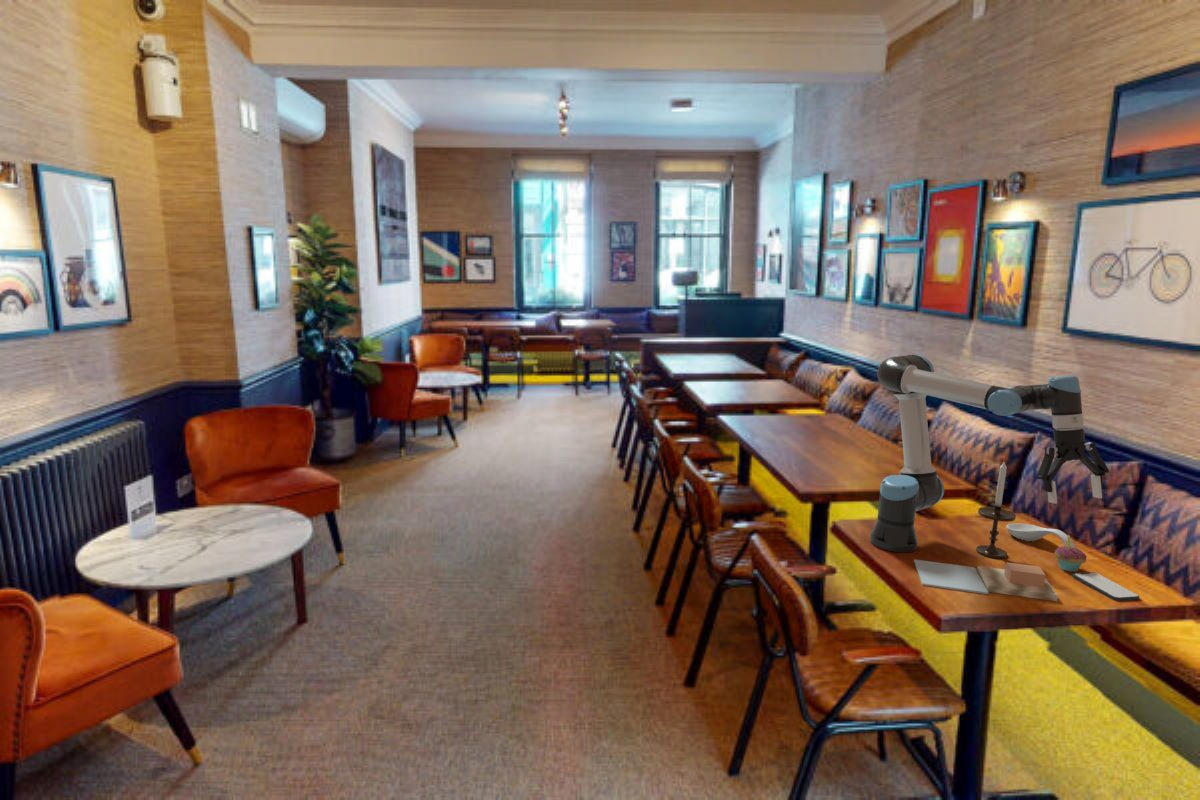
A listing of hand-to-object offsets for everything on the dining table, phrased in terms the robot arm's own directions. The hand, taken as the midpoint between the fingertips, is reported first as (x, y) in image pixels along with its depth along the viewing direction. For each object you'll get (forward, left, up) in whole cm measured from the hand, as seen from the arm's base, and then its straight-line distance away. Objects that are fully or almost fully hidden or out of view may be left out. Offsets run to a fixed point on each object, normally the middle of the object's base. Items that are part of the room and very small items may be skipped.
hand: (1075, 500), depth 201 cm
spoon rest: (+4, +36, -28) cm, 45 cm away
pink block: (-11, -4, -25) cm, 28 cm away
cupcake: (+7, +16, -28) cm, 33 cm away
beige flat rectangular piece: (-13, -4, -27) cm, 31 cm away
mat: (-31, -4, -27) cm, 42 cm away
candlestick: (-14, +21, -28) cm, 37 cm away
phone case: (+13, +4, -28) cm, 31 cm away
